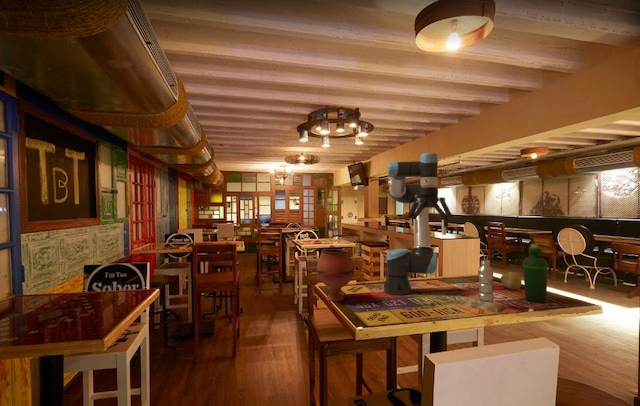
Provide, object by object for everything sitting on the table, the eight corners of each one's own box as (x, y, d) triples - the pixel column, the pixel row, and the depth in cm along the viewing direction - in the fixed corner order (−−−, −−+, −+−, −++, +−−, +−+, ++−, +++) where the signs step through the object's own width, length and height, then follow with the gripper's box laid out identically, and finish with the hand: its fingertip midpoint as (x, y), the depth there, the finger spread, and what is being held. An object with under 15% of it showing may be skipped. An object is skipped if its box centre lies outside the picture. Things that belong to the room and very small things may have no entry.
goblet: (362, 300, 157) (361, 251, 157) (329, 307, 147) (329, 253, 148) (340, 292, 173) (340, 247, 174) (310, 297, 164) (309, 249, 164)
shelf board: (460, 304, 151) (460, 297, 151) (467, 300, 157) (467, 293, 157) (496, 312, 139) (496, 304, 139) (503, 307, 146) (503, 300, 146)
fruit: (512, 286, 185) (511, 269, 185) (526, 291, 174) (526, 273, 174) (496, 287, 183) (496, 270, 184) (509, 292, 173) (509, 274, 173)
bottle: (546, 299, 159) (545, 244, 160) (551, 304, 150) (550, 246, 150) (521, 296, 164) (520, 243, 164) (524, 302, 154) (524, 245, 155)
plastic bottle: (497, 305, 144) (496, 261, 145) (484, 305, 143) (483, 261, 144) (487, 301, 151) (487, 259, 151) (475, 301, 150) (474, 259, 150)
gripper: (400, 188, 149) (400, 232, 149) (453, 185, 131) (453, 235, 131) (408, 188, 154) (408, 231, 154) (460, 186, 137) (460, 234, 136)
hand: (429, 233), depth 143 cm, fingers open, 13 cm apart
